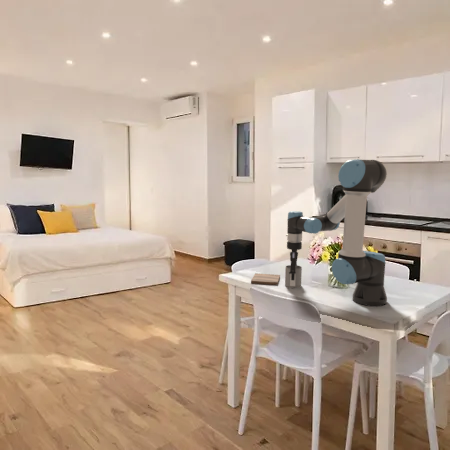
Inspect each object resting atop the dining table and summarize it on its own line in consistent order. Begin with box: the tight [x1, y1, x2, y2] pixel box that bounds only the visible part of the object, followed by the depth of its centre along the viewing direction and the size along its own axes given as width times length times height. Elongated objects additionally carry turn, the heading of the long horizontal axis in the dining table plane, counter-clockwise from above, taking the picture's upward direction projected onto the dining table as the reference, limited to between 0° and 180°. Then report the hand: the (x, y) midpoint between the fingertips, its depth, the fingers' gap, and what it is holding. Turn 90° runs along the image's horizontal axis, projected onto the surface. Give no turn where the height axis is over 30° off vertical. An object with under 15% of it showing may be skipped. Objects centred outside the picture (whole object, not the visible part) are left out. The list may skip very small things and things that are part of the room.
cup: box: [284, 264, 303, 289], centre depth 222 cm, size 8×8×10 cm
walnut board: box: [250, 272, 281, 286], centre depth 233 cm, size 16×14×2 cm
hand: (293, 283), depth 223 cm, fingers open, 10 cm apart
